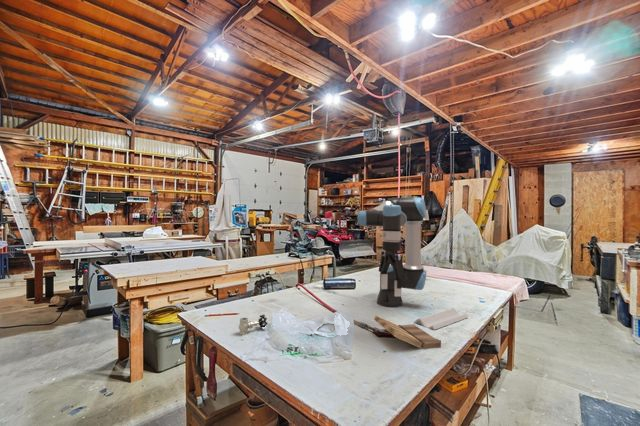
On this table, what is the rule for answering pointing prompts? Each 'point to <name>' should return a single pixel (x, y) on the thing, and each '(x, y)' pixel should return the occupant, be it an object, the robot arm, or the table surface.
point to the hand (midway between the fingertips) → (390, 292)
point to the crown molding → (440, 319)
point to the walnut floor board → (421, 336)
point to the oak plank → (398, 331)
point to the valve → (251, 324)
